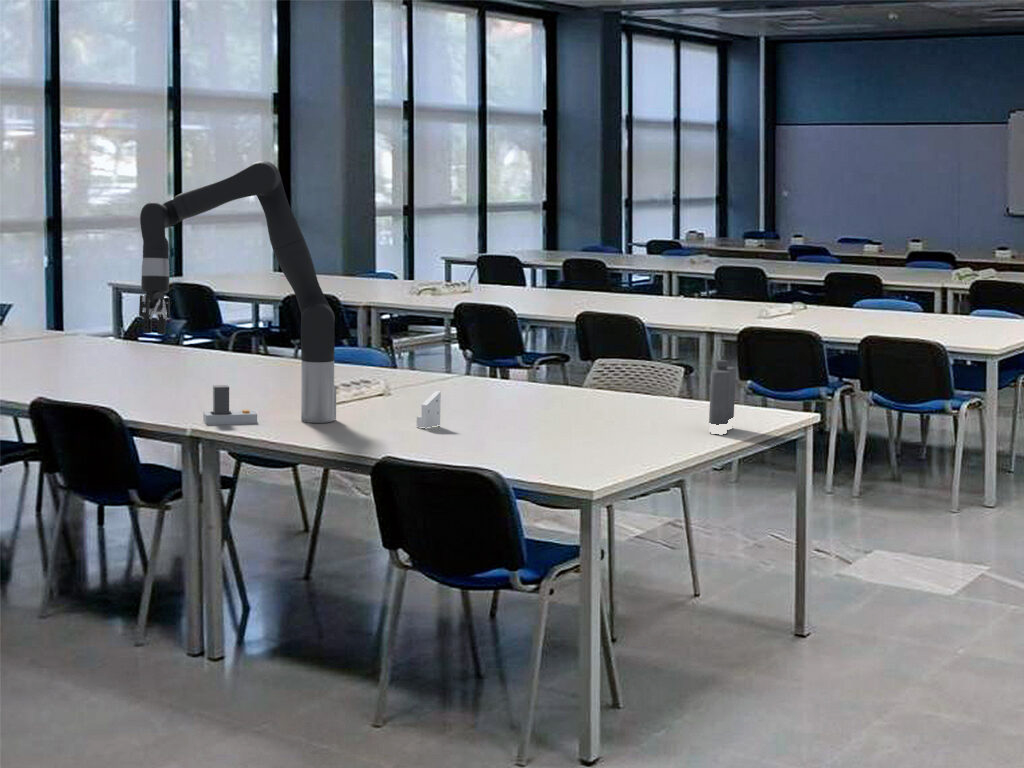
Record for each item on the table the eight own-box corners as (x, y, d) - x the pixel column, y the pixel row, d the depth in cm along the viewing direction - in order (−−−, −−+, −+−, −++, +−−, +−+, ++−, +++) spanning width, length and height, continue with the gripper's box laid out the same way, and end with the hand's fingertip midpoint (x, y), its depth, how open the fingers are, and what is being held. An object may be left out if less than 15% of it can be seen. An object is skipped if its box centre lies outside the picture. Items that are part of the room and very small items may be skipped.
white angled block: (450, 416, 427) (440, 391, 423) (429, 437, 421) (419, 412, 417) (441, 415, 430) (430, 390, 425) (419, 436, 424) (409, 411, 419)
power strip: (253, 420, 427) (253, 408, 427) (257, 424, 420) (257, 412, 420) (203, 422, 423) (203, 409, 422) (205, 426, 416) (205, 413, 416)
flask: (714, 426, 436) (717, 357, 433) (734, 427, 434) (737, 358, 432) (704, 434, 422) (707, 363, 419) (725, 436, 420) (728, 364, 418)
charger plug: (227, 420, 423) (227, 385, 422) (229, 422, 420) (229, 387, 418) (213, 420, 422) (212, 385, 421) (214, 423, 418) (214, 387, 417)
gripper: (156, 273, 413) (155, 333, 413) (179, 276, 427) (178, 334, 427) (131, 273, 415) (130, 332, 415) (154, 276, 429) (153, 334, 429)
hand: (154, 333), depth 421 cm, fingers open, 8 cm apart
